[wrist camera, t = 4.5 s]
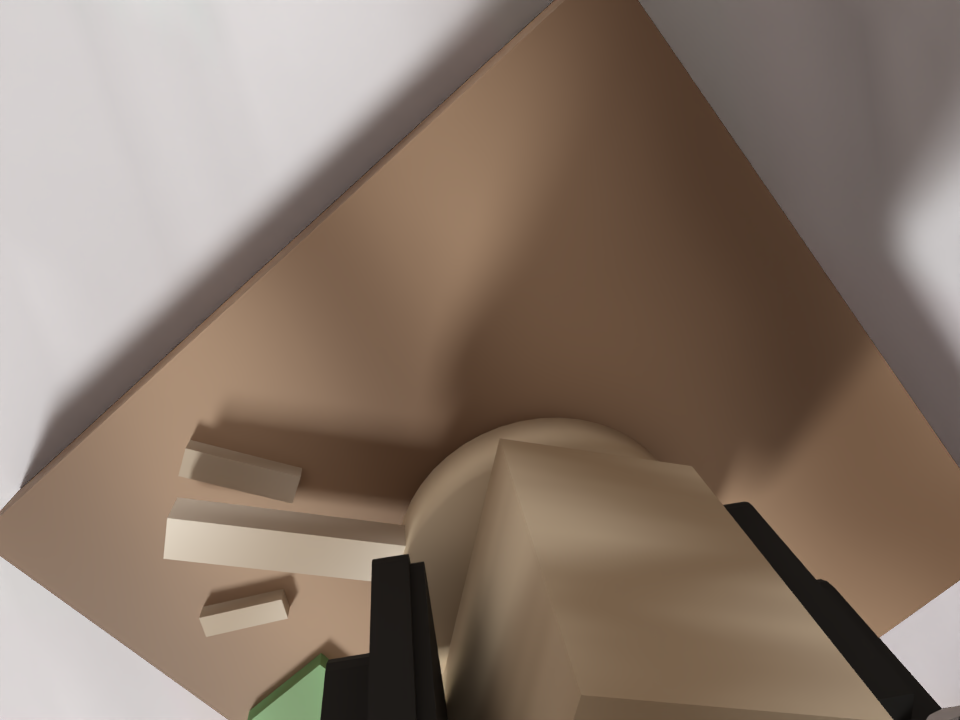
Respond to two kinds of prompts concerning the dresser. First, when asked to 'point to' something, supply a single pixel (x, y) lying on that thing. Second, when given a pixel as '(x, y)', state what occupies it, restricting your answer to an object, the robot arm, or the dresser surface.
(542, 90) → the dial board
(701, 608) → the knob
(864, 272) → the dresser surface
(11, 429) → the dresser surface
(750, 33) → the dresser surface
